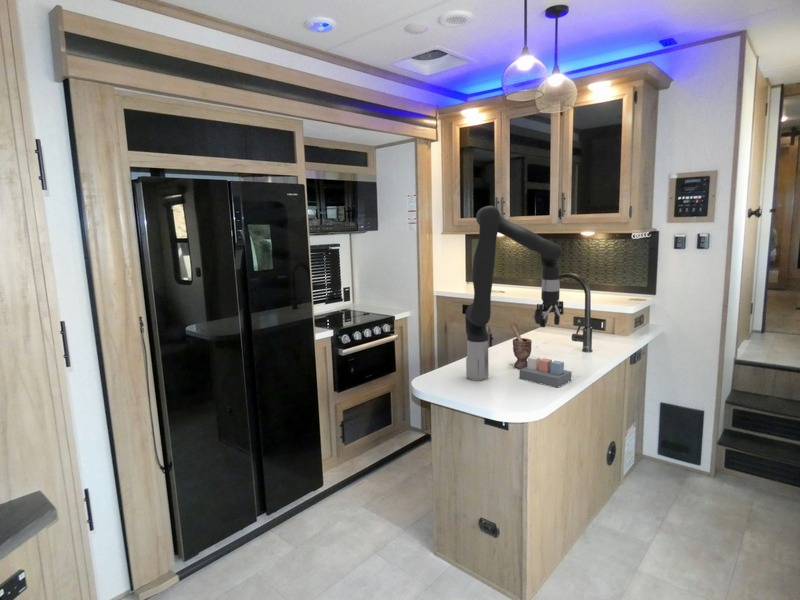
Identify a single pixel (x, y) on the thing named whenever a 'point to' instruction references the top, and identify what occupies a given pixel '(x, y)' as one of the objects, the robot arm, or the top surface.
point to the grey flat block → (545, 377)
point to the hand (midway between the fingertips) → (549, 325)
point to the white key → (533, 363)
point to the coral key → (545, 365)
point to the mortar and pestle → (520, 348)
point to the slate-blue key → (557, 368)
